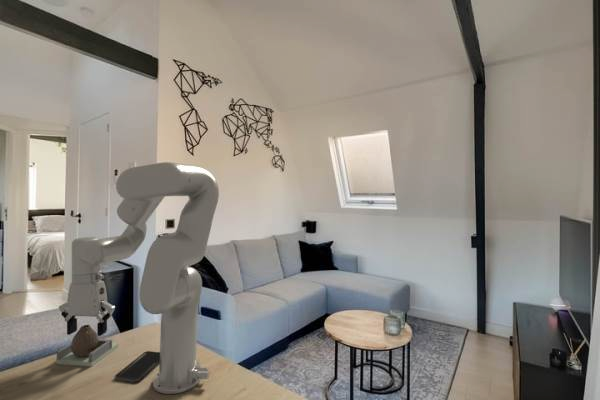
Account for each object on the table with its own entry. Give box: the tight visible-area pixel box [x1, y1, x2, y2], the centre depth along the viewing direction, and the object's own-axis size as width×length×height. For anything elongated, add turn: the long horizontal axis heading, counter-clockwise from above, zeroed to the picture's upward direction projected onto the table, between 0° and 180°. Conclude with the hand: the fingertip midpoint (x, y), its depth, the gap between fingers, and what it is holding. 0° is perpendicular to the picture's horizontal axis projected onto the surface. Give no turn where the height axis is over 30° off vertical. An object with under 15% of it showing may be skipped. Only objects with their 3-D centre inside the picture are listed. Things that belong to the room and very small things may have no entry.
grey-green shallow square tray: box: [56, 337, 119, 368], centre depth 99 cm, size 11×12×4 cm
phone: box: [114, 350, 160, 384], centre depth 94 cm, size 8×1×15 cm
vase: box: [70, 324, 99, 358], centre depth 97 cm, size 7×7×9 cm
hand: (87, 333), depth 97 cm, fingers open, 9 cm apart
